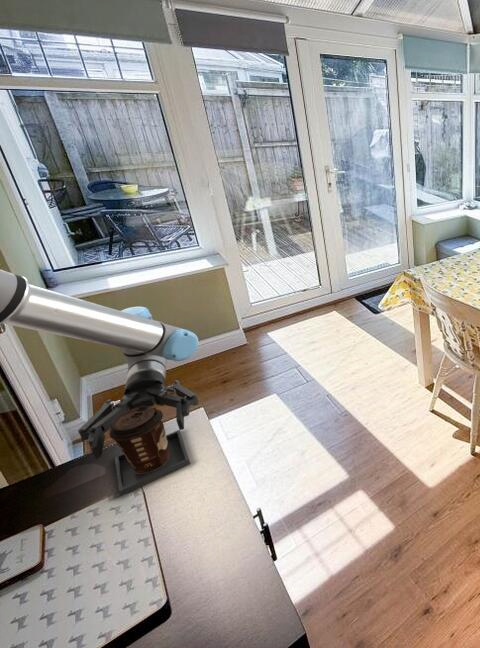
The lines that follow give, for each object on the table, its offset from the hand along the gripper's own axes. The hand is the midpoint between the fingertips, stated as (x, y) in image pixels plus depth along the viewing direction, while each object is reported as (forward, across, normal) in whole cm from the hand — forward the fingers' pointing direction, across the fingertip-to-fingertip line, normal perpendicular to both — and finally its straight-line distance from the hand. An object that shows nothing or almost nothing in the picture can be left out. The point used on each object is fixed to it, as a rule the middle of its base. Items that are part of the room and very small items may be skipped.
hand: (139, 438), depth 86 cm
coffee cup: (-2, 0, -9) cm, 9 cm away
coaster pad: (-2, 0, -9) cm, 9 cm away
